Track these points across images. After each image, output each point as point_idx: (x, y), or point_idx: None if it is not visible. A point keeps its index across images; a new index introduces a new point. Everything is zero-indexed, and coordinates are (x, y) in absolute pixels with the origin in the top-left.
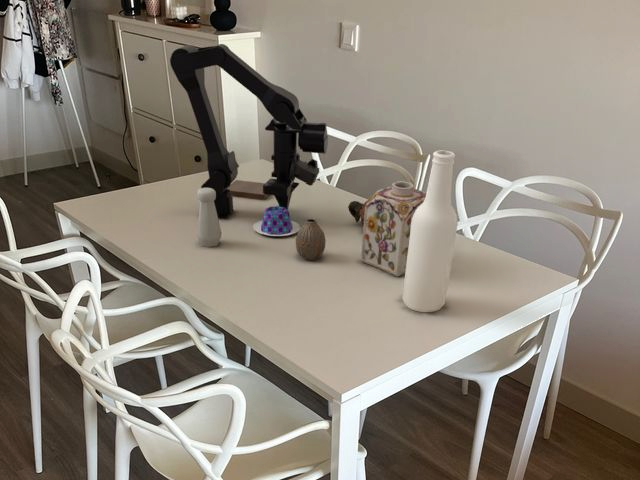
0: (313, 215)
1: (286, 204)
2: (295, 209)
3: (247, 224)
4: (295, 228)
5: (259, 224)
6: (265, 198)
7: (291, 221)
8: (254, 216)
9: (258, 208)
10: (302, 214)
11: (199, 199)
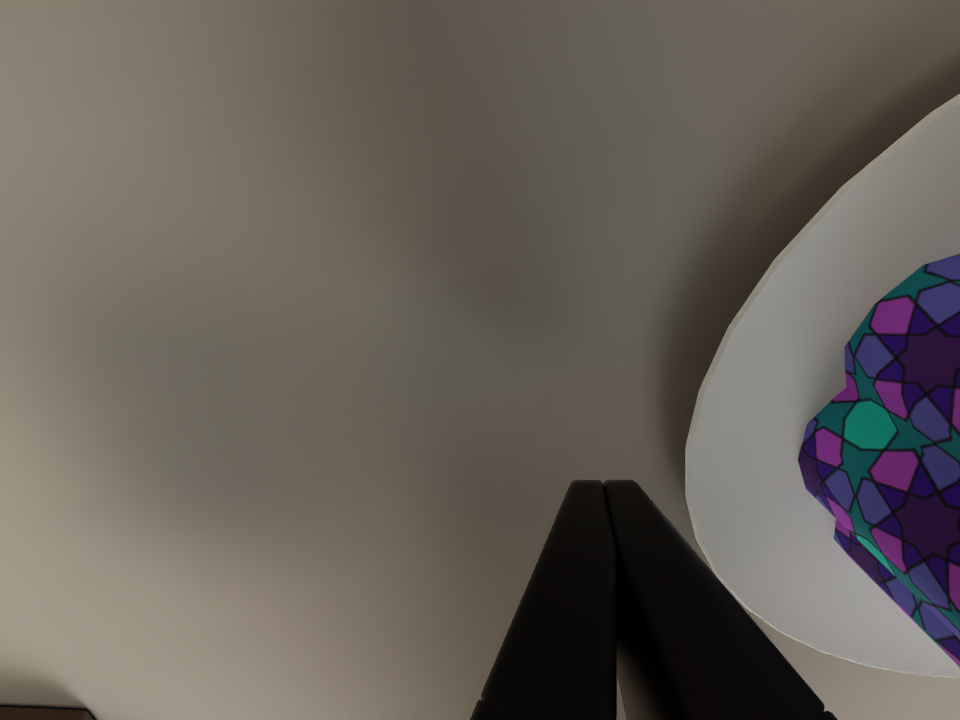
0: (82, 15)
1: (765, 655)
2: (72, 405)
3: (844, 698)
4: None
5: (920, 630)
6: (54, 713)
7: (771, 294)
8: None
9: (329, 705)
10: (184, 247)
11: None
